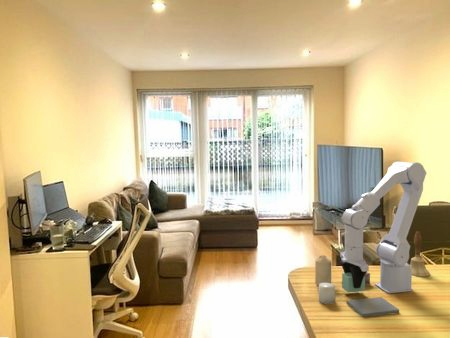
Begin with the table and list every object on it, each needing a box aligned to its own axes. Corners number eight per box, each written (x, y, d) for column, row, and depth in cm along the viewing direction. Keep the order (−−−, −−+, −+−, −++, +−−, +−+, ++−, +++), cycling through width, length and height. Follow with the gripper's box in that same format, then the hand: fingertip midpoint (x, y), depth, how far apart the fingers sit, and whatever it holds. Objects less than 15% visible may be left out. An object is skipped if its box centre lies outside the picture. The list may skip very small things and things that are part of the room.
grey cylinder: (330, 296, 121) (330, 282, 121) (337, 303, 116) (337, 288, 116) (316, 298, 120) (316, 283, 120) (323, 304, 115) (323, 289, 115)
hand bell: (401, 272, 141) (402, 232, 140) (410, 267, 147) (411, 228, 145) (425, 278, 135) (426, 236, 134) (433, 272, 141) (434, 231, 139)
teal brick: (358, 286, 125) (358, 271, 125) (364, 290, 122) (365, 276, 121) (342, 287, 124) (342, 273, 124) (348, 292, 120) (348, 277, 120)
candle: (331, 287, 129) (332, 259, 128) (315, 286, 130) (315, 258, 129) (330, 281, 134) (330, 254, 133) (315, 280, 135) (315, 253, 134)
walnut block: (359, 279, 136) (359, 268, 135) (369, 284, 131) (370, 273, 131) (348, 281, 133) (349, 271, 133) (359, 286, 129) (359, 275, 129)
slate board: (381, 300, 118) (381, 297, 118) (399, 312, 109) (399, 309, 109) (346, 303, 116) (346, 300, 116) (362, 317, 107) (362, 313, 107)
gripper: (332, 240, 128) (332, 278, 129) (354, 252, 114) (353, 295, 115) (350, 238, 129) (350, 276, 130) (374, 251, 115) (374, 292, 116)
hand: (353, 285), depth 123 cm, fingers closed on teal brick, 4 cm apart
